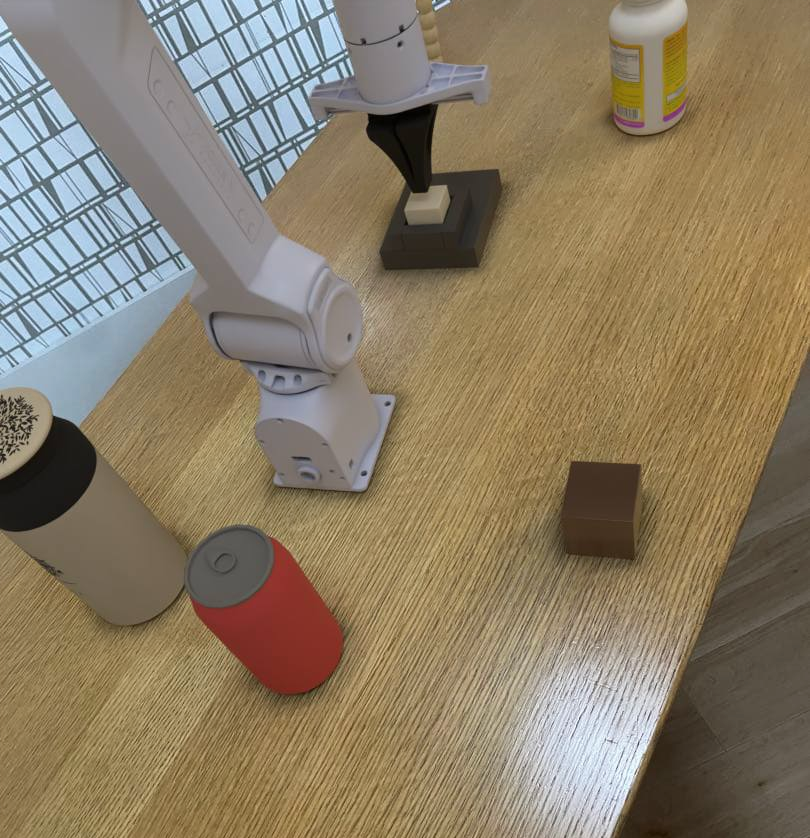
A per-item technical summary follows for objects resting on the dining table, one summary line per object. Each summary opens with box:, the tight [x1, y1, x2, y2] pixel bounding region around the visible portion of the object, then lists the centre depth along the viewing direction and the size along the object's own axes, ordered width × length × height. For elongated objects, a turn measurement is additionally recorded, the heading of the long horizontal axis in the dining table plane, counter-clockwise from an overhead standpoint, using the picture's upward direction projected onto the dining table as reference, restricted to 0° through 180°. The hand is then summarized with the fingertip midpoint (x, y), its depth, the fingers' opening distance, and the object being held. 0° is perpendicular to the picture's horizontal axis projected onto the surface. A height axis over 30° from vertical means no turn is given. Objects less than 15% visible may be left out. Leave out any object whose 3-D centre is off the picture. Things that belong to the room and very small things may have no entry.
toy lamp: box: [415, 0, 444, 63], centre depth 86 cm, size 5×5×17 cm
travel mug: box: [0, 386, 188, 626], centre depth 57 cm, size 8×8×18 cm
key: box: [404, 185, 450, 225], centre depth 74 cm, size 3×3×2 cm
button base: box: [378, 168, 503, 271], centre depth 77 cm, size 11×9×4 cm
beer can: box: [183, 523, 344, 695], centre depth 53 cm, size 7×7×12 cm
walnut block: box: [560, 460, 644, 560], centre depth 55 cm, size 4×4×4 cm
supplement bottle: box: [608, 0, 689, 136], centre depth 75 cm, size 7×7×13 cm
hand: (422, 186), depth 73 cm, fingers closed
